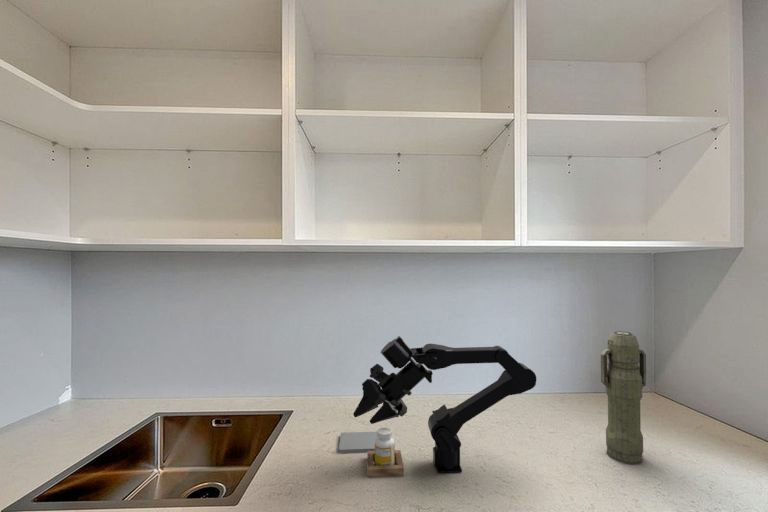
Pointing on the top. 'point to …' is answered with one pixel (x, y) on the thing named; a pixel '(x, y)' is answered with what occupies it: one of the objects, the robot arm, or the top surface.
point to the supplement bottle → (384, 448)
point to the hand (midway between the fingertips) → (362, 419)
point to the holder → (385, 470)
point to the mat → (357, 442)
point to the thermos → (624, 396)
